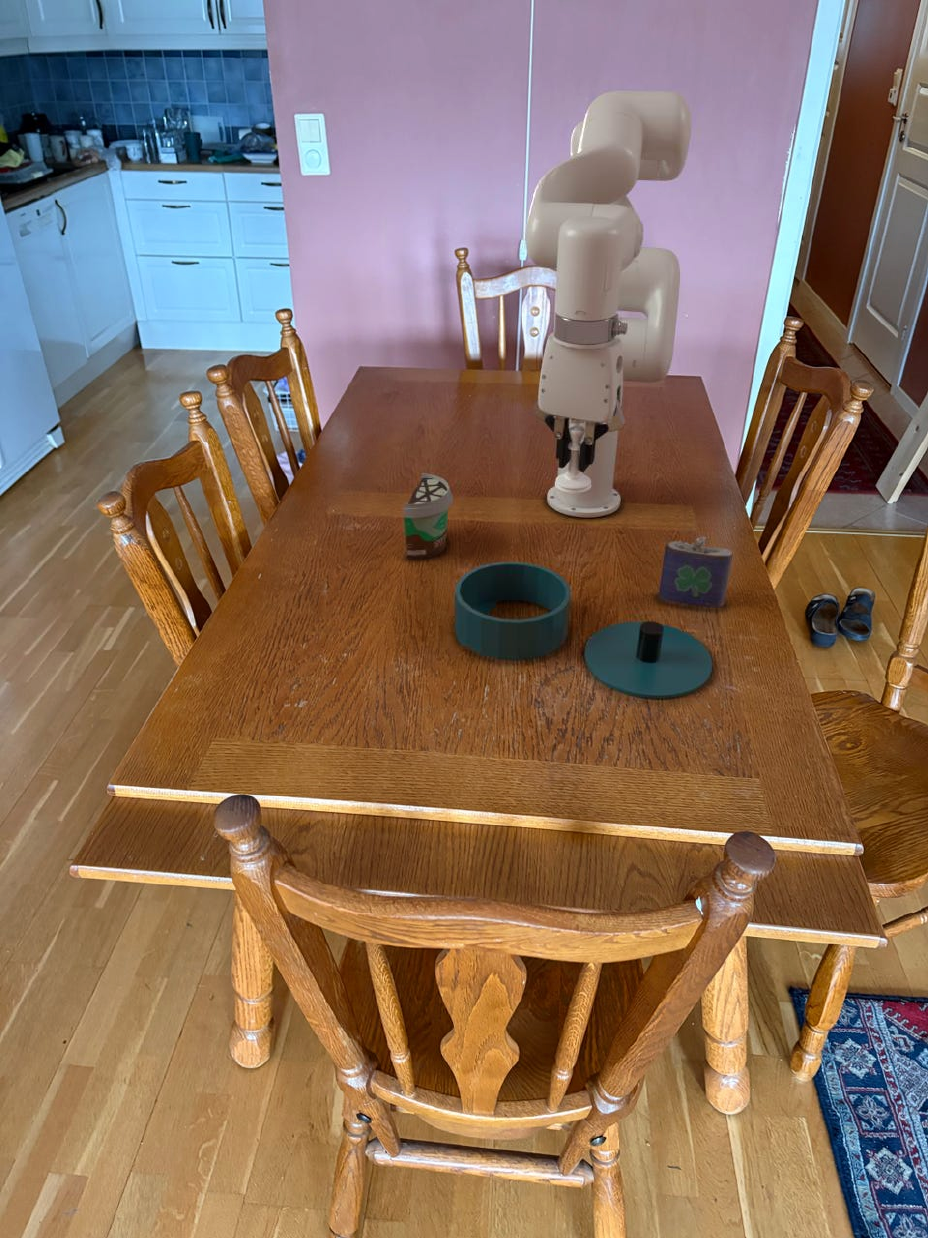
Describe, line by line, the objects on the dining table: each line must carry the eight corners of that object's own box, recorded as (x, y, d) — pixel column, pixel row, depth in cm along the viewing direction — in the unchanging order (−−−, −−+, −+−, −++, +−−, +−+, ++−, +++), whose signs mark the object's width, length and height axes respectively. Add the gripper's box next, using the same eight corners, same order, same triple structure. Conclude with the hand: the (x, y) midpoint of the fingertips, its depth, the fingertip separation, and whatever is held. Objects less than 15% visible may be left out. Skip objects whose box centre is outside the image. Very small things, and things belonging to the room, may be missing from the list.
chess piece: (552, 477, 125) (556, 408, 120) (587, 476, 126) (593, 406, 120) (557, 493, 121) (562, 422, 116) (594, 492, 122) (600, 421, 116)
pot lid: (604, 618, 129) (607, 583, 125) (722, 645, 123) (728, 609, 120) (567, 683, 116) (570, 646, 113) (696, 716, 110) (703, 679, 107)
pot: (481, 591, 134) (482, 552, 131) (582, 614, 129) (585, 575, 126) (436, 646, 123) (436, 606, 119) (545, 675, 117) (548, 633, 114)
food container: (443, 567, 140) (442, 509, 134) (404, 563, 141) (402, 505, 136) (460, 530, 150) (460, 474, 145) (423, 527, 151) (422, 471, 146)
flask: (723, 602, 132) (735, 537, 126) (722, 613, 130) (734, 547, 124) (658, 593, 134) (667, 528, 128) (656, 603, 132) (665, 538, 126)
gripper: (656, 327, 112) (640, 465, 122) (534, 311, 117) (528, 445, 128) (640, 345, 106) (624, 488, 117) (512, 328, 112) (508, 466, 122)
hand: (574, 465), depth 122 cm, fingers closed on chess piece
